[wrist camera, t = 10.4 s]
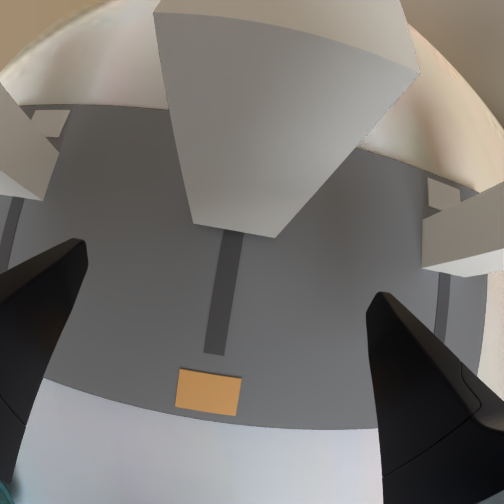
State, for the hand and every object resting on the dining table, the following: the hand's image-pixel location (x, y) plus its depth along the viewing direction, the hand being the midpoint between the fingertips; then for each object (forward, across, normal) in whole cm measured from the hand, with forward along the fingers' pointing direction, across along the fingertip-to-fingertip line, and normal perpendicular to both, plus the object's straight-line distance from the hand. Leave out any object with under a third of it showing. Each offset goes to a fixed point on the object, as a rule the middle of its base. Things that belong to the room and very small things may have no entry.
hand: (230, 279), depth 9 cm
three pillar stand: (+6, 0, +4) cm, 7 cm away
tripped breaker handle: (+7, 0, +1) cm, 7 cm away
